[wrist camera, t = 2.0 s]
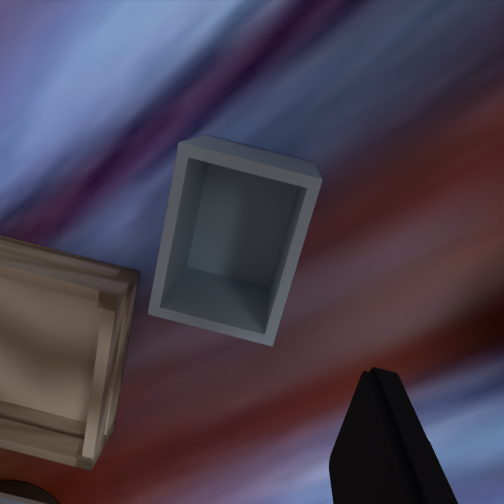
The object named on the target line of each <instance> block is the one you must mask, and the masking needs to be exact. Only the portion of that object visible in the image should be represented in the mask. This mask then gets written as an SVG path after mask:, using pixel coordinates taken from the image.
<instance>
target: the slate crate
mask: <svg viewBox="0 0 504 504" xmlns="http://www.w3.org/2000/svg"><path fill="white" fill-rule="evenodd" d="M322 180H323V179H322V177H321V175H320V173H319V171H318V169H317V168H316V166H315V164H314V163H313V162H309V161H305V160H301V159H298V158H294V157H290V156H286V155H282V154H278V153H274V152H271V151H267V150H263V149H259V148H255V147H251V146H247V145H244V144H240V143H236V142H232V141H228V140H224V139H220V138H216V137H213V136H209V135H203V136H200V137H196V138H192V139H188V140H185V141H181V142H179V143H178V148H177V154H176V160H175V165H174V171H173V176H172V182H171V187H170V193H169V198H168V204H167V209H166V215H165V220H164V226H163V232H162V237H161V243H160V248H159V254H158V259H157V265H156V270H155V276H154V281H153V287H152V292H151V298H150V303H149V309H148V315H152V316H156V317H160V318H164V319H167V320H171V321H175V322H179V323H183V324H187V325H191V326H194V327H198V328H202V329H206V330H210V331H214V332H218V333H222V334H225V335H229V336H233V337H237V338H241V339H245V340H249V341H253V342H256V343H260V344H264V345H268V346H272V347H273V343H274V340H275V337H276V333H277V330H278V327H279V323H280V320H281V317H282V314H283V310H284V307H285V304H286V300H287V297H288V294H289V290H290V287H291V284H292V280H293V277H294V274H295V270H296V267H297V264H298V260H299V257H300V254H301V250H302V247H303V244H304V240H305V237H306V234H307V230H308V227H309V224H310V220H311V217H312V214H313V210H314V207H315V204H316V200H317V197H318V194H319V190H320V187H321V184H322Z"/></svg>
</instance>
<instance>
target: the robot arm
mask: <svg viewBox="0 0 504 504" xmlns="http://www.w3.org/2000/svg"><path fill="white" fill-rule="evenodd" d="M329 474H330V481H331V488H332V496H333V503H334V504H458V502H457V500H456V498H455V496H454V494H453V492H452V489H451V487H450V485H449V483H448V481H447V478H446V476H445V474H444V472H443V470H442V468H441V465H440V463H439V461H438V459H437V457H436V455H435V452H434V450H433V448H432V446H431V444H430V442H429V440H428V439H427V437H426V435H425V432H424V430H423V428H422V426H421V424H420V421H419V419H418V417H417V415H416V413H415V410H414V408H413V406H412V404H411V402H410V399H409V397H408V395H407V393H406V391H405V389H404V386H403V384H402V382H401V380H400V378H399V375H398V374H397V373H395V372H391V371H387V370H383V369H379V368H376V367H373V368H372V369H371V370H370V372H368V371H364V372H363V373H362V375H361V377H360V380H359V382H358V385H357V388H356V390H355V393H354V395H353V398H352V401H351V403H350V406H349V408H348V411H347V414H346V416H345V419H344V421H343V424H342V427H341V429H340V432H339V434H338V437H337V440H336V442H335V445H334V447H333V450H332V453H331V456H330V461H329ZM0 504H46V503H42V502H38V501H34V500H30V499H26V498H22V497H18V496H14V495H9V494H5V493H1V492H0Z"/></svg>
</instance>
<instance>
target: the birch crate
mask: <svg viewBox="0 0 504 504" xmlns="http://www.w3.org/2000/svg"><path fill="white" fill-rule="evenodd" d="M139 274H140V271H136V270H133V269H129V268H125V267H121V266H117V265H113V264H109V263H106V262H102V261H98V260H94V259H90V258H86V257H82V256H78V255H75V254H71V253H67V252H63V251H59V250H55V249H51V248H48V247H44V246H40V245H36V244H32V243H28V242H24V241H20V240H17V239H13V238H9V237H5V236H1V235H0V447H1V448H4V449H8V450H12V451H16V452H20V453H24V454H28V455H32V456H35V457H39V458H43V459H47V460H51V461H55V462H59V463H63V464H66V465H70V466H74V467H78V468H82V469H86V470H90V471H91V470H92V469H93V467H94V465H95V463H96V461H97V459H98V458H99V456H100V454H101V452H102V450H103V448H104V447H105V445H106V443H107V441H108V439H109V438H110V436H111V434H112V432H113V429H114V423H115V417H116V411H117V405H118V400H119V394H120V388H121V382H122V376H123V370H124V364H125V358H126V352H127V346H128V340H129V334H130V328H131V322H132V316H133V310H134V304H135V298H136V292H137V286H138V280H139Z"/></svg>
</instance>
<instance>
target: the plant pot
mask: <svg viewBox="0 0 504 504" xmlns="http://www.w3.org/2000/svg"><path fill="white" fill-rule="evenodd" d="M0 492H1V493H5V494H9V495H14V496H18V497H22V498H26V499H30V500H34V501H38V502H42V503H46V504H58V502H57V501H56V500H55V499H54V498H53V497H52V496H50V495H49V494H48V493H47V492H45V491H43V490H42V489H40V488H38V487H36V486H34V485H31V484H28V483H25V482H19V481H2V482H0Z"/></svg>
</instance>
